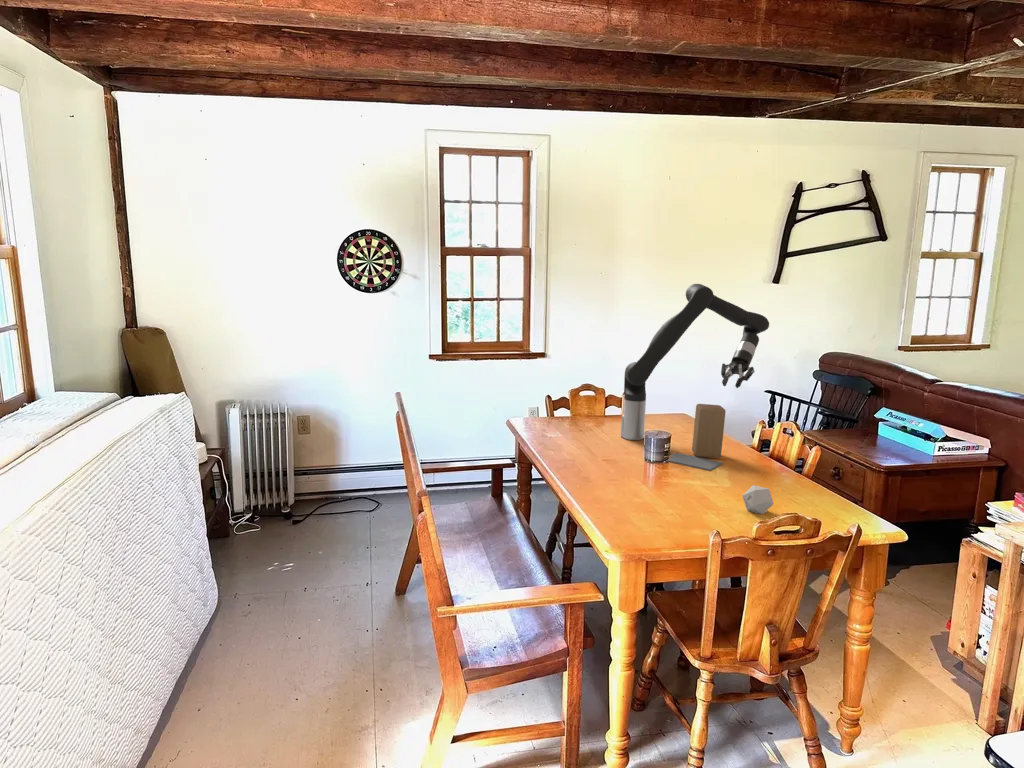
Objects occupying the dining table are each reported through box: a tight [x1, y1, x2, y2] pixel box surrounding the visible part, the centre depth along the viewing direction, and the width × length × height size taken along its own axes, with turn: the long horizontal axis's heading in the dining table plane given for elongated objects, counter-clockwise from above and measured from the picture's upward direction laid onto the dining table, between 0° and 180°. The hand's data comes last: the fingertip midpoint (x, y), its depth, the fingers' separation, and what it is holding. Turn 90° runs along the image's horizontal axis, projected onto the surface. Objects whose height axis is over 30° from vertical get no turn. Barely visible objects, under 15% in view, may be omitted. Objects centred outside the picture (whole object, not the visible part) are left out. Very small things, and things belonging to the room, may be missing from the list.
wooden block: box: [691, 403, 726, 459], centre depth 271 cm, size 10×10×20 cm
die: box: [741, 484, 774, 515], centre depth 212 cm, size 8×9×10 cm
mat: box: [667, 452, 724, 472], centre depth 264 cm, size 20×12×1 cm, turn 49°
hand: (730, 385), depth 283 cm, fingers open, 5 cm apart
